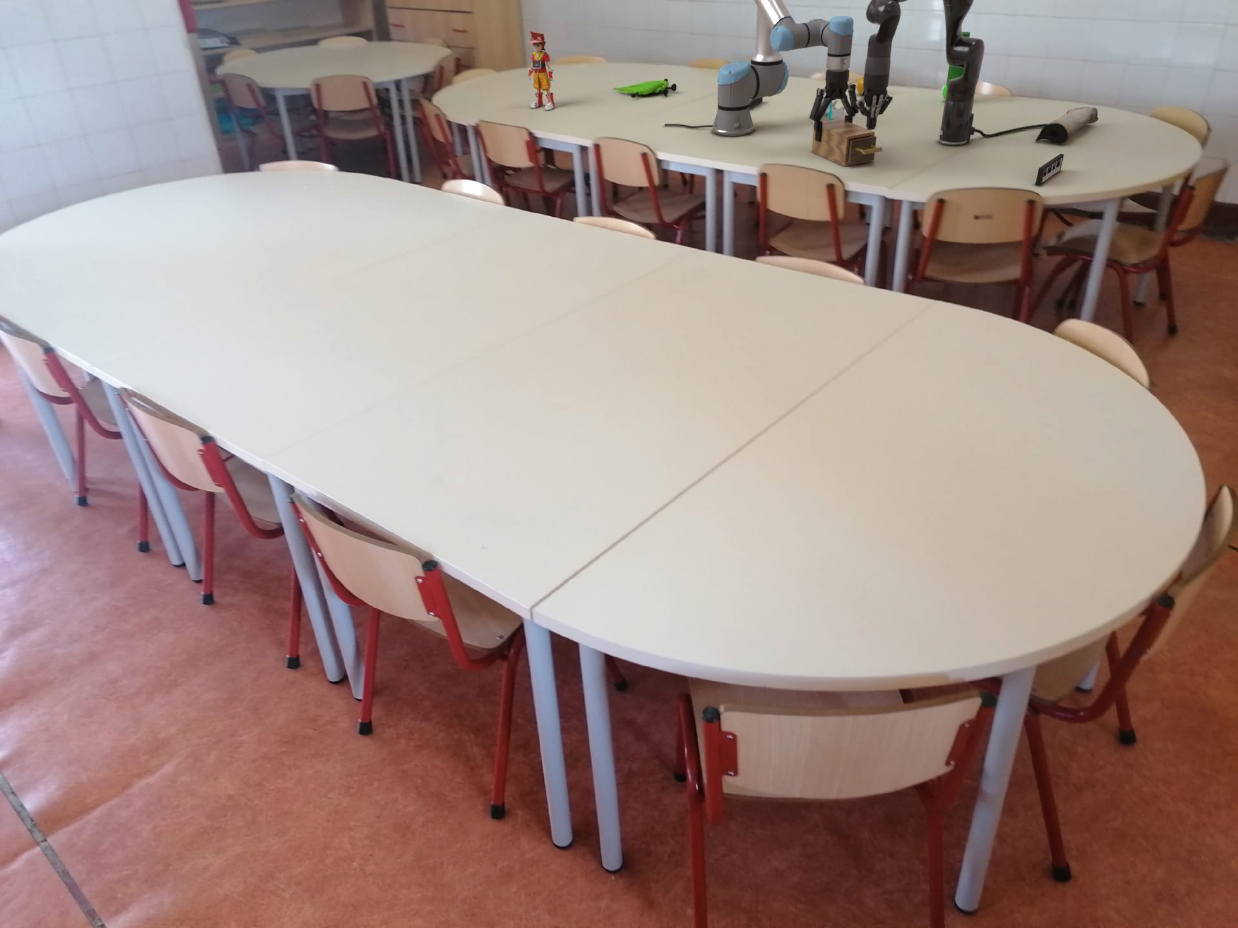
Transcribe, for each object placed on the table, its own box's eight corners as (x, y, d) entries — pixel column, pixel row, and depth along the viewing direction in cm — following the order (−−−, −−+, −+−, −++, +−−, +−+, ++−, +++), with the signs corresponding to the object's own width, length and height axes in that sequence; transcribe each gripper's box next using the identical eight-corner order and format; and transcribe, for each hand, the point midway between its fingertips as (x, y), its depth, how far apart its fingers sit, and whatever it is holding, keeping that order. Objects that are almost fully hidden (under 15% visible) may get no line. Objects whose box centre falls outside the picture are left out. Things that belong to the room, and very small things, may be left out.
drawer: (884, 164, 291) (886, 140, 287) (859, 169, 289) (862, 145, 284) (842, 146, 310) (844, 124, 305) (818, 151, 307) (820, 128, 303)
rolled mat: (1064, 112, 323) (1089, 94, 314) (1078, 133, 323) (1104, 116, 315) (1031, 135, 305) (1057, 117, 297) (1046, 157, 306) (1072, 140, 298)
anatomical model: (812, 91, 345) (837, 84, 345) (815, 118, 351) (840, 111, 351) (822, 101, 333) (849, 93, 332) (825, 128, 339) (851, 121, 338)
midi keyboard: (1039, 185, 269) (1043, 168, 266) (1035, 184, 270) (1038, 168, 267) (1060, 170, 279) (1064, 154, 277) (1056, 169, 280) (1060, 153, 277)
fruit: (851, 87, 368) (863, 69, 365) (853, 91, 376) (865, 73, 373) (868, 99, 367) (880, 81, 364) (870, 102, 374) (882, 84, 371)
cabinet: (871, 161, 298) (874, 131, 292) (844, 166, 295) (847, 136, 289) (837, 147, 313) (840, 118, 308) (811, 151, 310) (813, 123, 305)
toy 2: (686, 85, 398) (631, 84, 414) (685, 72, 395) (629, 72, 411) (651, 104, 381) (596, 103, 397) (650, 92, 378) (594, 91, 394)
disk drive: (747, 111, 360) (763, 102, 370) (747, 104, 359) (763, 95, 369) (724, 109, 365) (740, 100, 375) (724, 101, 363) (740, 93, 373)
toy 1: (525, 109, 381) (517, 32, 364) (534, 104, 388) (527, 28, 371) (550, 110, 377) (543, 32, 360) (559, 105, 384) (553, 28, 367)
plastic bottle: (973, 101, 354) (984, 32, 339) (955, 106, 349) (966, 36, 335) (952, 97, 361) (962, 29, 346) (934, 102, 356) (944, 33, 342)
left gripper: (813, 76, 287) (808, 146, 300) (874, 66, 294) (867, 136, 306) (801, 72, 293) (797, 141, 306) (861, 63, 300) (854, 131, 312)
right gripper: (866, 76, 271) (860, 135, 281) (902, 70, 275) (895, 129, 284) (851, 72, 277) (846, 129, 286) (887, 66, 280) (881, 124, 290)
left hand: (832, 138), depth 306 cm, fingers closed on cabinet, 11 cm apart
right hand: (870, 129), depth 285 cm, fingers closed
